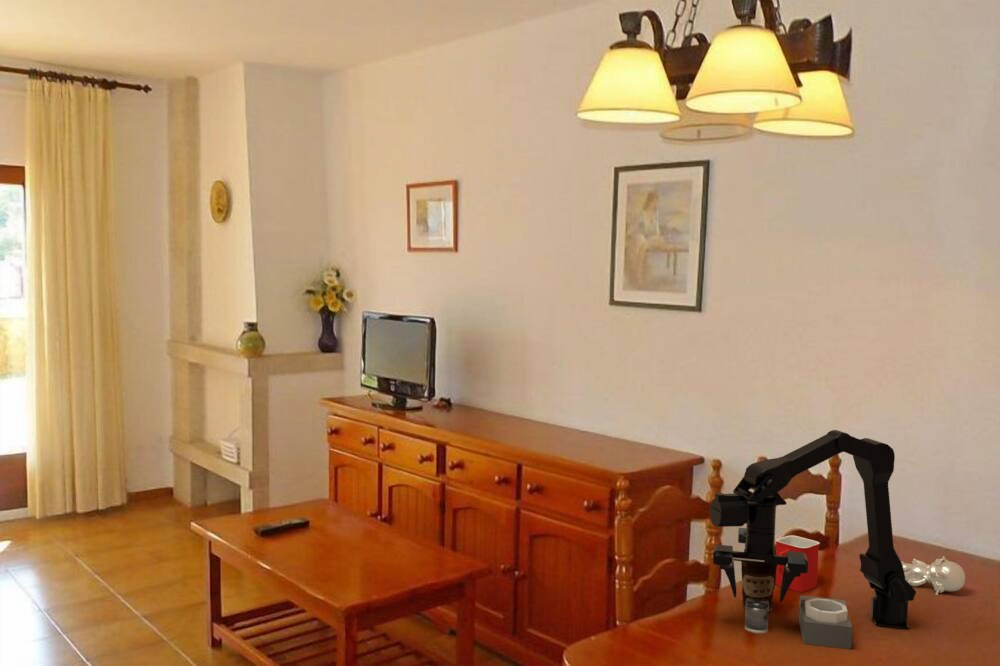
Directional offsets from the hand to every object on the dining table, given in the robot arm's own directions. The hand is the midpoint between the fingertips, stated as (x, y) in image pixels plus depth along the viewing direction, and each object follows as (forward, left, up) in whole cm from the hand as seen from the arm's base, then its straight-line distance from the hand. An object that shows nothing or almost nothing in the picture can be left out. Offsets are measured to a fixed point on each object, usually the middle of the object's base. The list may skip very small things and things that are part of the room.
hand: (757, 599), depth 185 cm
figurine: (-41, -39, -7) cm, 57 cm away
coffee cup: (-1, -12, -7) cm, 14 cm away
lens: (0, 0, -6) cm, 6 cm away
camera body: (-13, -1, -6) cm, 15 cm away
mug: (-9, -29, -7) cm, 32 cm away
